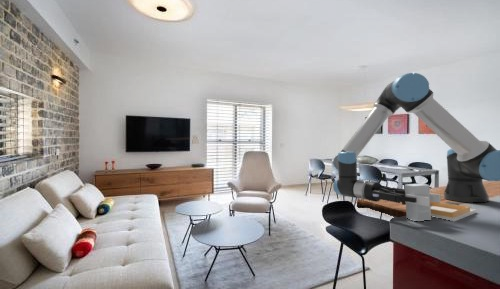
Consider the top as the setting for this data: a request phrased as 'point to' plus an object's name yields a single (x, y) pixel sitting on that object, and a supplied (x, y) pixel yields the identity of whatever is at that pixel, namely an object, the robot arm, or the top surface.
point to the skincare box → (416, 210)
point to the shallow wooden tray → (450, 211)
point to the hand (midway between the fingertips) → (434, 200)
